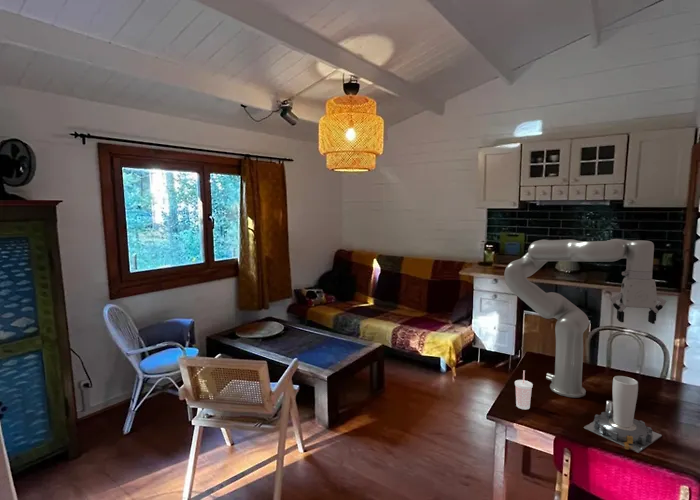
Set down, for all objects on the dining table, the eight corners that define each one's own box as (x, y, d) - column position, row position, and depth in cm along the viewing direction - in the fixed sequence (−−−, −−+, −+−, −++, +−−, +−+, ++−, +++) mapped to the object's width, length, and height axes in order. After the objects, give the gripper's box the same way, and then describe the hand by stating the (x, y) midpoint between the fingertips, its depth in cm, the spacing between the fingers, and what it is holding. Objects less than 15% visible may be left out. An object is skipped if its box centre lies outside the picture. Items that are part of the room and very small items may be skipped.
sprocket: (621, 447, 120) (623, 425, 119) (582, 420, 135) (583, 400, 135) (665, 441, 123) (667, 419, 122) (622, 415, 138) (623, 396, 137)
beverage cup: (513, 408, 145) (514, 372, 144) (514, 401, 151) (515, 365, 149) (531, 412, 142) (532, 375, 141) (532, 404, 148) (533, 368, 146)
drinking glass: (605, 418, 132) (607, 376, 130) (624, 417, 132) (627, 375, 131) (621, 430, 125) (623, 385, 124) (640, 428, 126) (643, 384, 124)
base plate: (580, 429, 131) (580, 425, 130) (608, 414, 140) (608, 410, 140) (635, 455, 117) (635, 450, 117) (661, 436, 126) (662, 432, 126)
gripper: (615, 276, 138) (613, 323, 139) (673, 277, 134) (669, 326, 135) (607, 272, 145) (604, 318, 147) (661, 274, 141) (658, 320, 143)
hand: (635, 322), depth 141 cm, fingers open, 9 cm apart
